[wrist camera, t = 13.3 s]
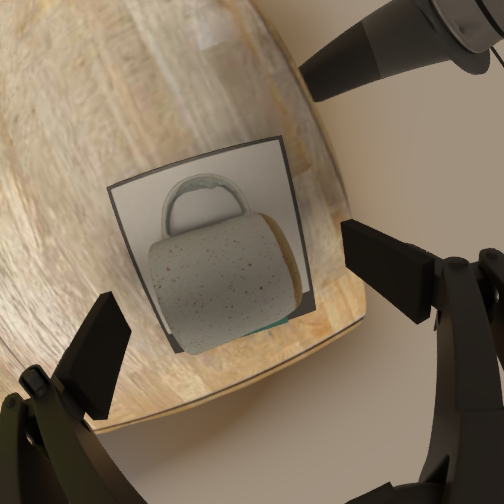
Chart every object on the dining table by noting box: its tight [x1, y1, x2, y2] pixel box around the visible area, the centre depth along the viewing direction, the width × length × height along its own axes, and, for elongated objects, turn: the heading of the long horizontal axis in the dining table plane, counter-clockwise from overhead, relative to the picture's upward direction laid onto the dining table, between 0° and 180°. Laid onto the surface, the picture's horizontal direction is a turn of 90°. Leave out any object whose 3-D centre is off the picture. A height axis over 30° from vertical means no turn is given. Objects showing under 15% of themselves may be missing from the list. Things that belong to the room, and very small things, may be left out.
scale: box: [107, 135, 316, 354], centre depth 22 cm, size 14×16×3 cm
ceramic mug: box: [148, 173, 302, 355], centre depth 17 cm, size 11×8×8 cm
